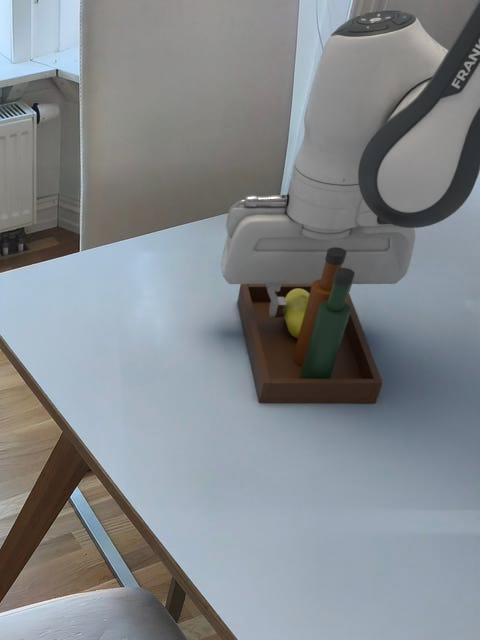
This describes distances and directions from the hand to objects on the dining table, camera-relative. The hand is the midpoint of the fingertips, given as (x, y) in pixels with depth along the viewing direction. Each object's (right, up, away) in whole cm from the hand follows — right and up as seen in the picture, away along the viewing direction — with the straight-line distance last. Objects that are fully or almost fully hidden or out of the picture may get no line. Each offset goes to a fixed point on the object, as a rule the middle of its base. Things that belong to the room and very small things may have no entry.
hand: (299, 314), depth 104 cm
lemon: (0, -1, +1) cm, 2 cm away
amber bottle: (0, -6, -3) cm, 7 cm away
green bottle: (0, -10, -6) cm, 11 cm away
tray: (0, -4, -1) cm, 4 cm away
